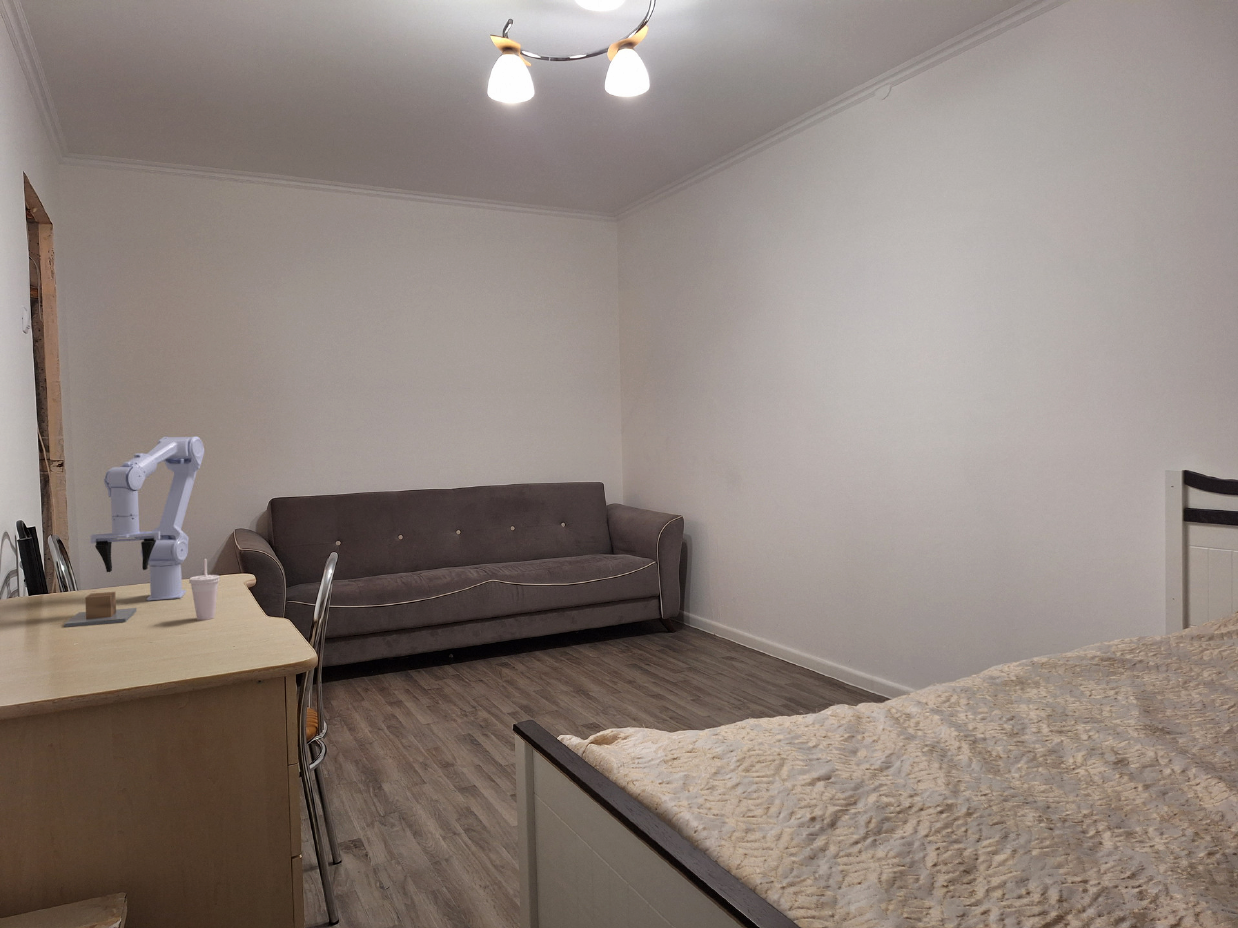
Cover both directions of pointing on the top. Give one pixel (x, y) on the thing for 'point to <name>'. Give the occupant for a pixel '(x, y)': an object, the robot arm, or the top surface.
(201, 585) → the smoothie
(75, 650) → the top surface
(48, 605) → the top surface
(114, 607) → the walnut cube
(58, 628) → the top surface
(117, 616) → the coaster
